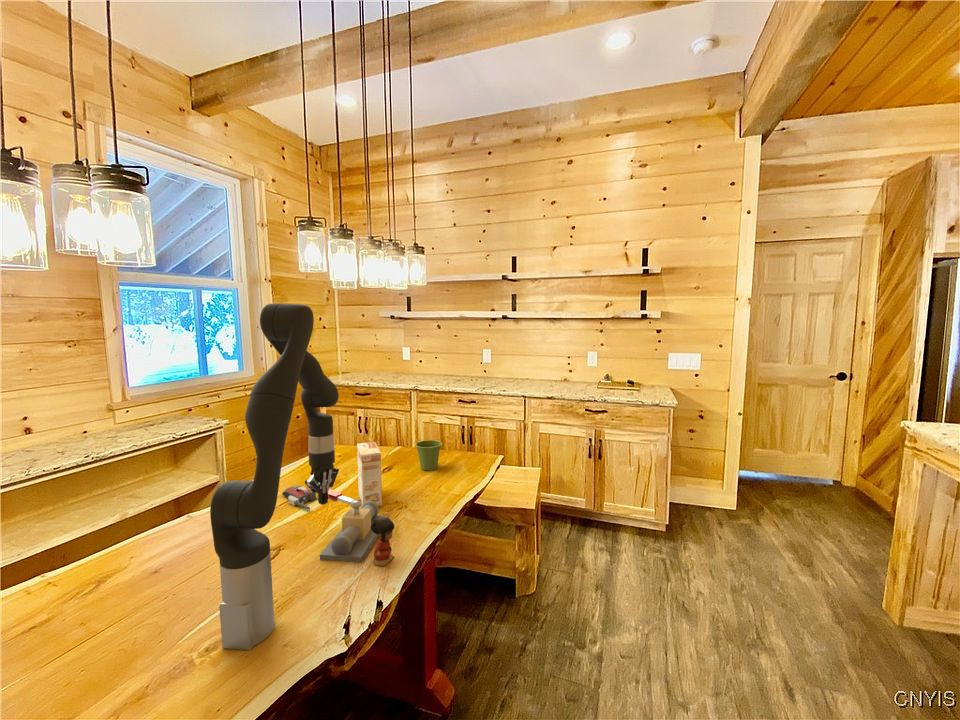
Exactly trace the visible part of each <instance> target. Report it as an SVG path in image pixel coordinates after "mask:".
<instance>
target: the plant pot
mask: <svg viewBox="0 0 960 720" xmlns="http://www.w3.org/2000/svg"><path fill="white" fill-rule="evenodd" d="M414 445H415V447H416V451H417V453H418V459H419V465H420V469H421V471H434V470H436V469H437V468H438V466H439V465H438V464H439V456H440V451H441V447H442V445H443V442H441V441H439V440H435V439H426V440H420V441H417V442H416V443H415V444H414Z"/></svg>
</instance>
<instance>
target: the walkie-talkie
mask: <svg viewBox="0 0 960 720" xmlns="http://www.w3.org/2000/svg"><path fill="white" fill-rule="evenodd" d="M316 494H317V493H313V492H312V491H311V490H310V489H309V487H305V486H303V485H298V484H296V485H293V486H290V487H287V488H286V489H285V490H284V491H283V492H282V496H284V498H286V497H287V498H286V499H287V500H288V504H290V505H292V506H293V507H297V506H300V507H301V508H303V509H306V510H310V509H311V507H310V506H308V505H306V504H305V503H308V502H311V501H313V500H315V499H317V497H316V496H317V495H316Z"/></svg>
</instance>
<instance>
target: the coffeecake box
mask: <svg viewBox="0 0 960 720" xmlns="http://www.w3.org/2000/svg"><path fill="white" fill-rule="evenodd" d="M356 447H357V453H356V454H357V476H358V477H357V479H358V480H357V481H358V486H357V487H358V496H359V499H361V500H362V506H363V504H364V503H365V502H367V501H373V502H375V503H376V504H377V505H378V507H382V506H383V495H382V494H383V493H382V490H383V489H382V483H383V482H382V453H381V450H380V448H379V446H378V444H377V442H376V441H370V442H368V441H367V442H362V443H361V442H360V443H356ZM362 506H361V507H362Z"/></svg>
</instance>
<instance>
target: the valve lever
mask: <svg viewBox="0 0 960 720" xmlns="http://www.w3.org/2000/svg"><path fill="white" fill-rule="evenodd" d="M329 500H330V501H332V502H341V503H344V504H347V505H350V508H362V500H361V499H360V498H355V499H353V498H351V497H348V496H345V495H343V493H342V492H339V491H336V490H333V489H331V488H329V491H328V501H329Z"/></svg>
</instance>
